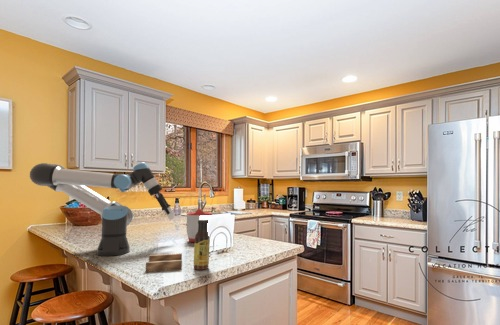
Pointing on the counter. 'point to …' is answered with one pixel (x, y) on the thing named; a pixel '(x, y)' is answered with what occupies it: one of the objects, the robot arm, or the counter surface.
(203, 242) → the sauce bottle
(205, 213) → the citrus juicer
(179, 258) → the groove board
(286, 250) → the counter surface
